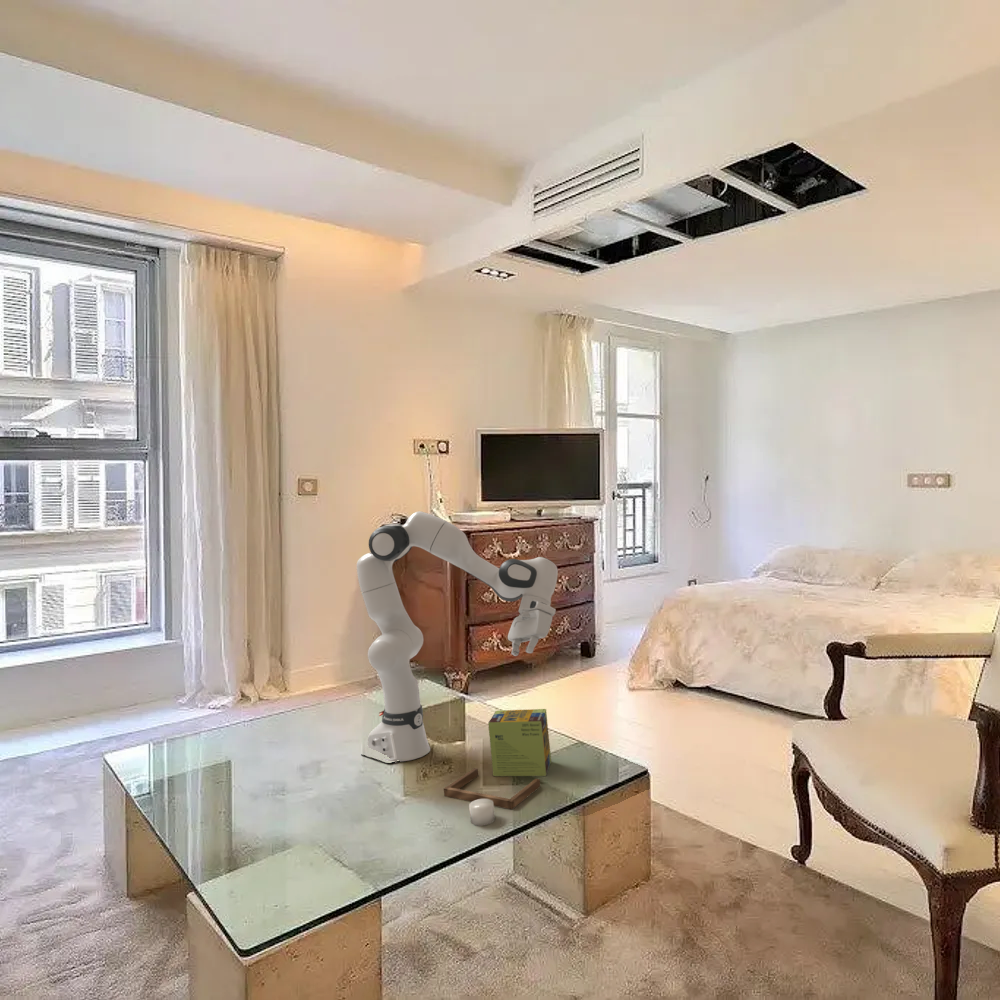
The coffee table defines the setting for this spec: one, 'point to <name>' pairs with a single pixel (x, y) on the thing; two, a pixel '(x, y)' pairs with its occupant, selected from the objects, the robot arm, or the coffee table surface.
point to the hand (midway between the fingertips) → (521, 654)
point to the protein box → (519, 743)
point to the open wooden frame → (456, 792)
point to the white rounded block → (482, 812)
